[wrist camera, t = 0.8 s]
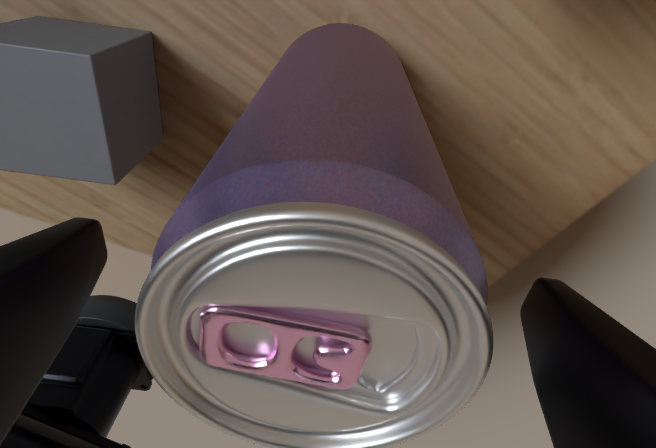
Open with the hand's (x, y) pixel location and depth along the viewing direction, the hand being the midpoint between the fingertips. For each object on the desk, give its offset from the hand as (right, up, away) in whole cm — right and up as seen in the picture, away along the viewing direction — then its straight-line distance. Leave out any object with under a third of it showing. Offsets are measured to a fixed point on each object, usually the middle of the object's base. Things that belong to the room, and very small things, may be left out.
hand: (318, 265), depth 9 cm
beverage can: (+1, +7, +11) cm, 13 cm away
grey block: (-10, +7, +11) cm, 17 cm away
